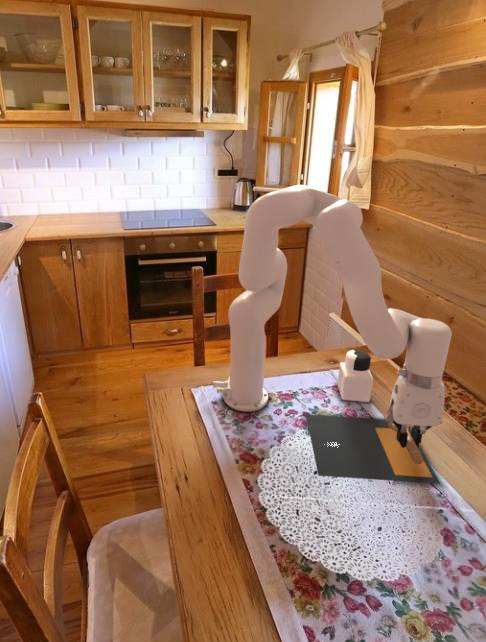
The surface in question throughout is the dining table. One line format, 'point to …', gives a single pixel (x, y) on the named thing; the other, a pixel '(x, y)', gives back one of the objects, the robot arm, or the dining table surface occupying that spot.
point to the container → (355, 377)
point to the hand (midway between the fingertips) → (407, 443)
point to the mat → (364, 450)
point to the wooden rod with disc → (410, 446)
